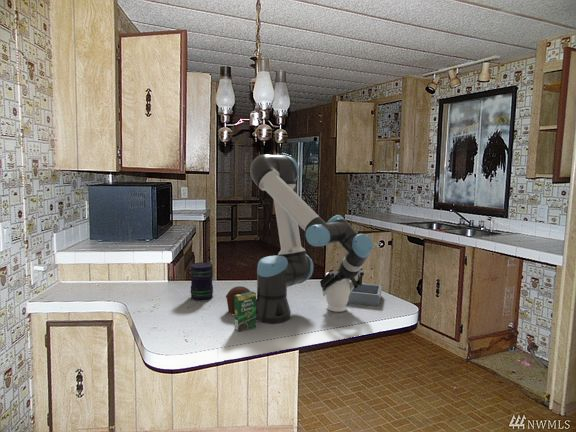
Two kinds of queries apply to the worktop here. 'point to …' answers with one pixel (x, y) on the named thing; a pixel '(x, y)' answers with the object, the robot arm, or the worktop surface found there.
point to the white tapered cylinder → (338, 295)
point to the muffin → (231, 296)
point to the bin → (366, 295)
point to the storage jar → (201, 281)
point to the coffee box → (245, 311)
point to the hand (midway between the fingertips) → (335, 292)
